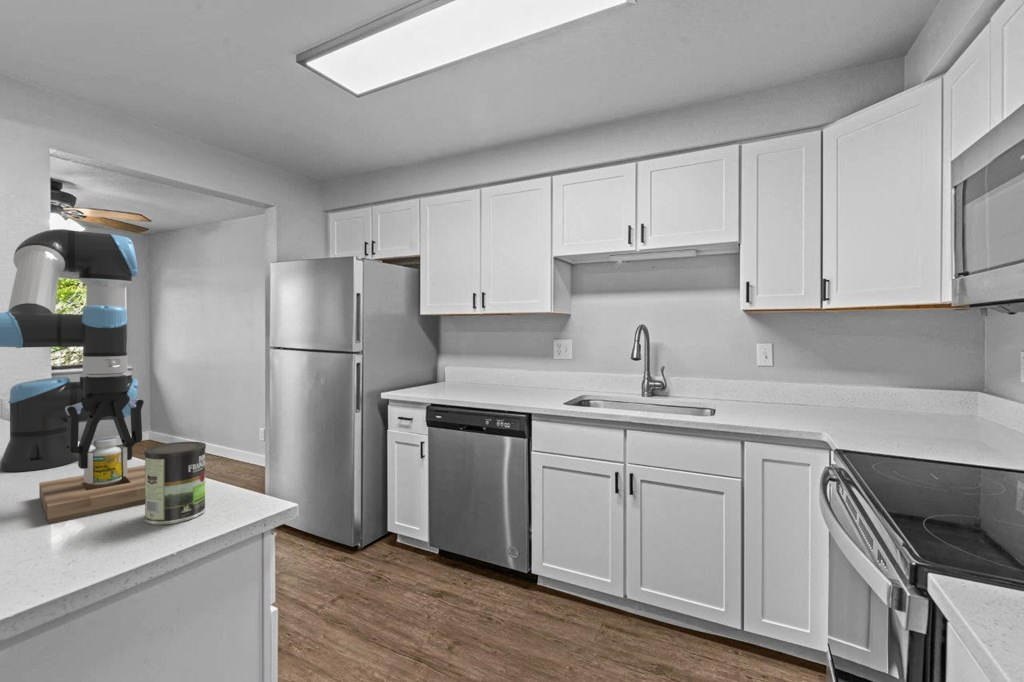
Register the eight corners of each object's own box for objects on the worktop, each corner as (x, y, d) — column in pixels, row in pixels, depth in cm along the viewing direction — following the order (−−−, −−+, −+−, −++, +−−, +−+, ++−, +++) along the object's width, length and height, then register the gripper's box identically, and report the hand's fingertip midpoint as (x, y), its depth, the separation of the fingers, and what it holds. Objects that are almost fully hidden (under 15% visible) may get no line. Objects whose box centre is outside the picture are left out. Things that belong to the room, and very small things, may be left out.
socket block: (39, 498, 105) (39, 482, 105) (150, 478, 120) (150, 464, 120) (47, 524, 92) (47, 506, 91) (172, 497, 107) (171, 482, 106)
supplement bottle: (123, 476, 109) (123, 435, 109) (120, 483, 105) (119, 440, 105) (92, 480, 106) (92, 438, 106) (87, 487, 102) (87, 443, 102)
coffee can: (214, 504, 103) (214, 440, 103) (190, 524, 93) (190, 452, 93) (162, 506, 101) (162, 441, 101) (132, 526, 91) (132, 454, 91)
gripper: (55, 379, 95) (56, 493, 96) (161, 373, 111) (161, 471, 111) (43, 377, 99) (44, 486, 100) (147, 371, 115) (147, 466, 115)
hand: (106, 478), depth 106 cm, fingers closed on supplement bottle, 5 cm apart
